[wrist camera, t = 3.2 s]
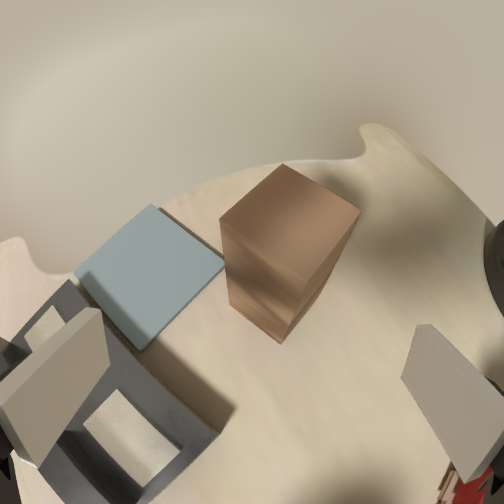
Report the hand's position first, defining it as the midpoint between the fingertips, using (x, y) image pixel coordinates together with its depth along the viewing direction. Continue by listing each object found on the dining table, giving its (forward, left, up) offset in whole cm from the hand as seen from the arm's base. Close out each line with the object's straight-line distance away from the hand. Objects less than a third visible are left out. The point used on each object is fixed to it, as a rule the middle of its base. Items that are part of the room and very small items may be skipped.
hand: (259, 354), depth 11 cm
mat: (+13, -1, -11) cm, 17 cm away
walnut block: (+3, -6, -11) cm, 13 cm away
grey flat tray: (+8, +10, -11) cm, 17 cm away
